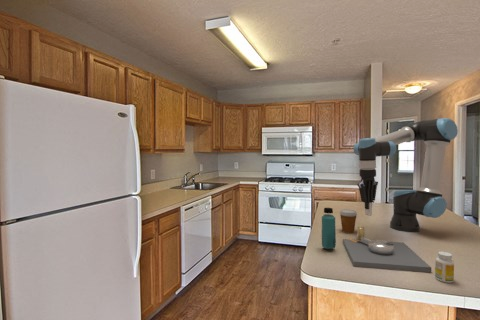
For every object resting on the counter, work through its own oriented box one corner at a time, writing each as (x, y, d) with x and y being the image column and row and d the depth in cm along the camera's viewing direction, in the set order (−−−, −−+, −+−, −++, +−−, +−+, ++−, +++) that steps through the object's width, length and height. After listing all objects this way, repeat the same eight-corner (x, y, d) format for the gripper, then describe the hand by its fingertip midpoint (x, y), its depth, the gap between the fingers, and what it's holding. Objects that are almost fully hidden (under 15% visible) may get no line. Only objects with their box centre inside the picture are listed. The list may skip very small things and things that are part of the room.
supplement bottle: (434, 279, 95) (434, 253, 95) (436, 274, 99) (436, 249, 99) (453, 284, 92) (453, 257, 91) (454, 279, 96) (454, 253, 95)
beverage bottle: (334, 253, 121) (334, 210, 120) (319, 250, 124) (319, 208, 124) (337, 248, 126) (337, 207, 126) (323, 246, 130) (323, 206, 129)
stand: (403, 246, 128) (403, 241, 128) (431, 272, 101) (431, 266, 101) (342, 242, 134) (342, 238, 134) (353, 266, 107) (353, 260, 107)
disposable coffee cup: (358, 234, 147) (358, 213, 146) (340, 233, 149) (340, 212, 148) (354, 229, 156) (355, 209, 156) (338, 228, 158) (338, 208, 158)
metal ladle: (399, 253, 114) (399, 237, 114) (381, 256, 111) (381, 239, 111) (365, 239, 132) (365, 225, 132) (349, 241, 129) (349, 227, 129)
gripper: (369, 167, 138) (370, 211, 139) (352, 169, 132) (353, 215, 133) (382, 168, 132) (383, 214, 133) (365, 170, 126) (366, 218, 127)
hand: (368, 215), depth 133 cm, fingers closed
